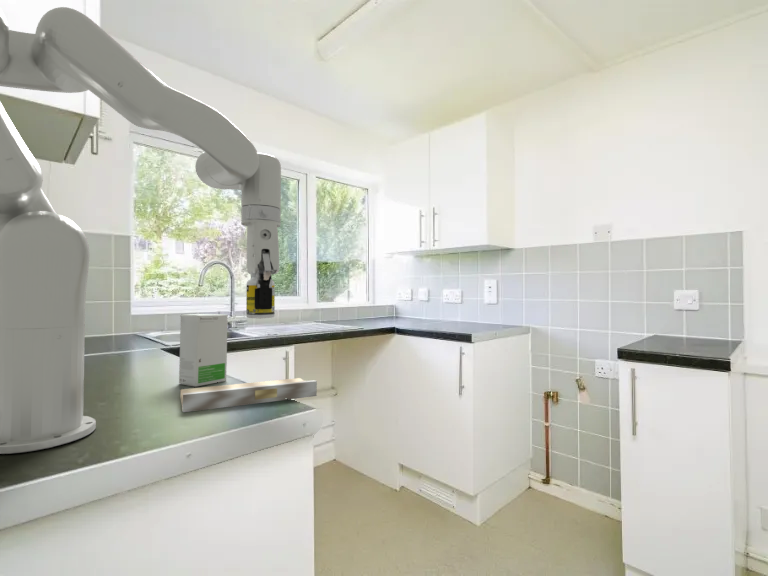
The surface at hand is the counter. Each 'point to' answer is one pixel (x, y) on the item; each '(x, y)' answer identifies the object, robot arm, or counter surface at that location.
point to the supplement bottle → (250, 303)
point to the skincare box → (203, 349)
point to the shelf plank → (245, 394)
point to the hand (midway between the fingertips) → (260, 307)
